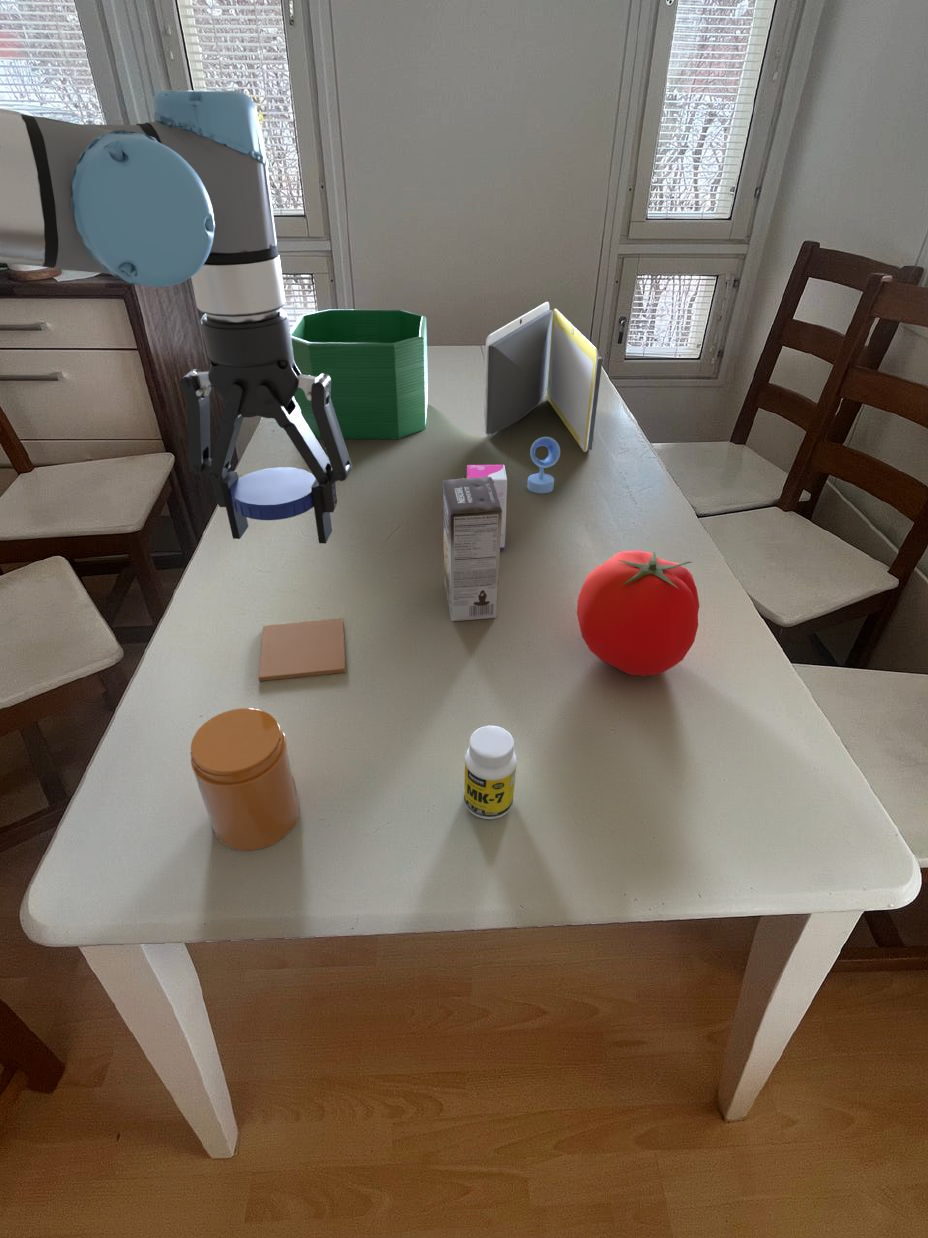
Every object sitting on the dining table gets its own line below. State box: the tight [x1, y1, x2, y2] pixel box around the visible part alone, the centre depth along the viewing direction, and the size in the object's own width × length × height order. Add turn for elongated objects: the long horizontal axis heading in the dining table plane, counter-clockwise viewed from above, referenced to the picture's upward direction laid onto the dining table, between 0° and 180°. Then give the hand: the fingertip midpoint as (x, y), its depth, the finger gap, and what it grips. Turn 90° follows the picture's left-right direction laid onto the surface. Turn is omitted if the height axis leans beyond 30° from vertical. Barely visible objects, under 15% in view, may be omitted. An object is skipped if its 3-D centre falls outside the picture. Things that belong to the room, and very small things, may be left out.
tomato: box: [576, 549, 700, 677], centre depth 81 cm, size 16×14×14 cm
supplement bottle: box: [463, 725, 517, 820], centre depth 64 cm, size 5×5×8 cm
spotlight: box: [526, 436, 561, 494], centre depth 117 cm, size 5×10×7 cm
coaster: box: [257, 617, 347, 682], centre depth 85 cm, size 10×10×1 cm
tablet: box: [483, 301, 603, 453], centre depth 139 cm, size 35×22×20 cm, turn 10°
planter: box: [290, 309, 429, 440], centre depth 141 cm, size 26×26×18 cm
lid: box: [230, 466, 316, 521], centre depth 71 cm, size 9×9×2 cm
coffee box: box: [442, 477, 502, 622], centre depth 88 cm, size 9×6×16 cm
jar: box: [190, 707, 301, 852], centre depth 62 cm, size 8×8×10 cm
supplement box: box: [466, 464, 508, 552], centre depth 102 cm, size 6×6×12 cm
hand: (283, 534), depth 74 cm, fingers closed on lid, 9 cm apart
